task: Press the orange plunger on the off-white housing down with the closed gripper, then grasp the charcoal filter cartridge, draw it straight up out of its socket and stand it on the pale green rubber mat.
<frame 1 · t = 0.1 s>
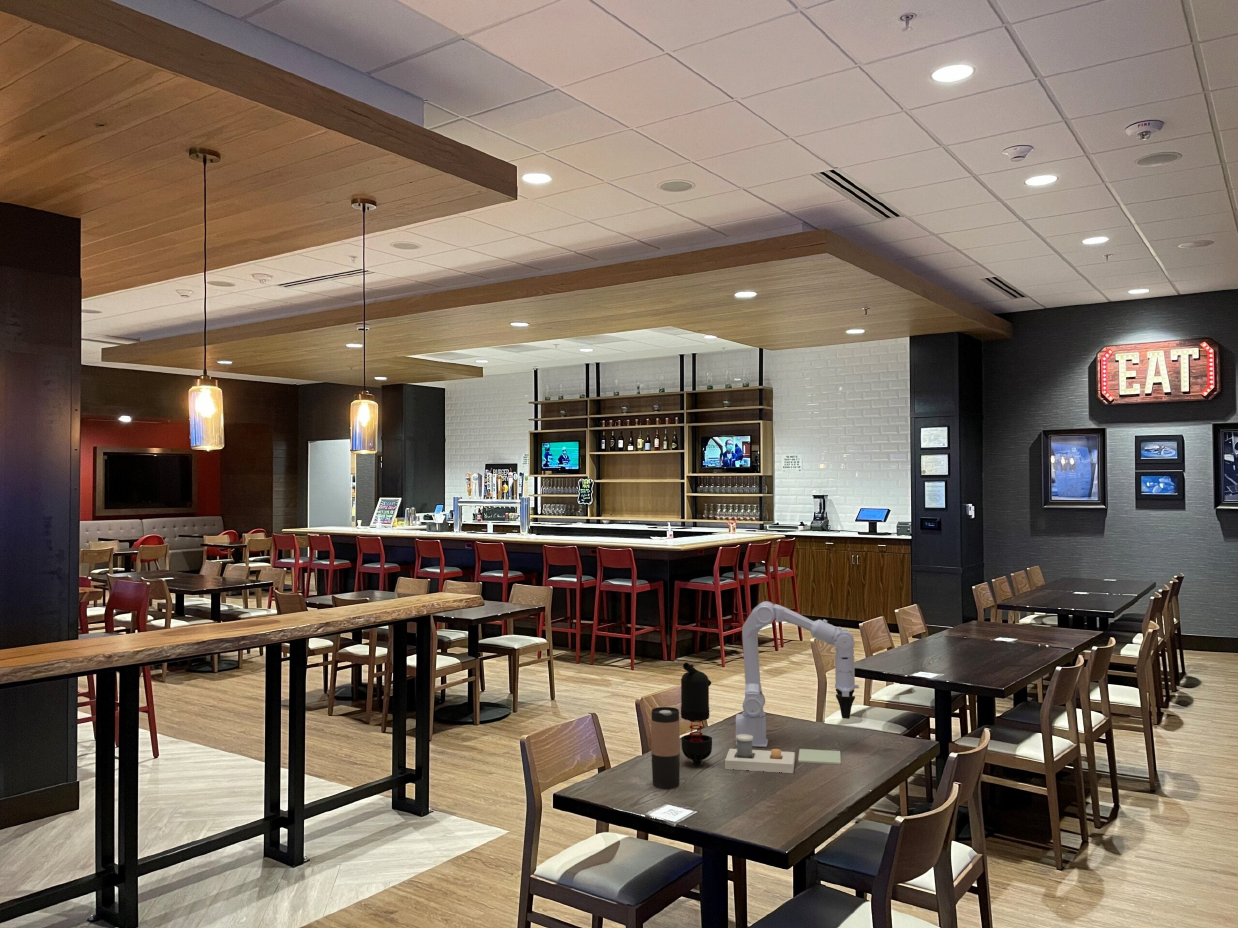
hand: (845, 715, 276), 10 cm above the table, tool pointing down, fingers open, 7 cm apart
cartridge: (744, 763, 261), resting in housing
plunger: (776, 754, 259), point 3 cm above the table, slide at 0.0 cm
travel mug: (666, 785, 243), on the table
mat: (819, 757, 267), on the table
housing: (760, 764, 260), on the table
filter: (699, 763, 262), on the table
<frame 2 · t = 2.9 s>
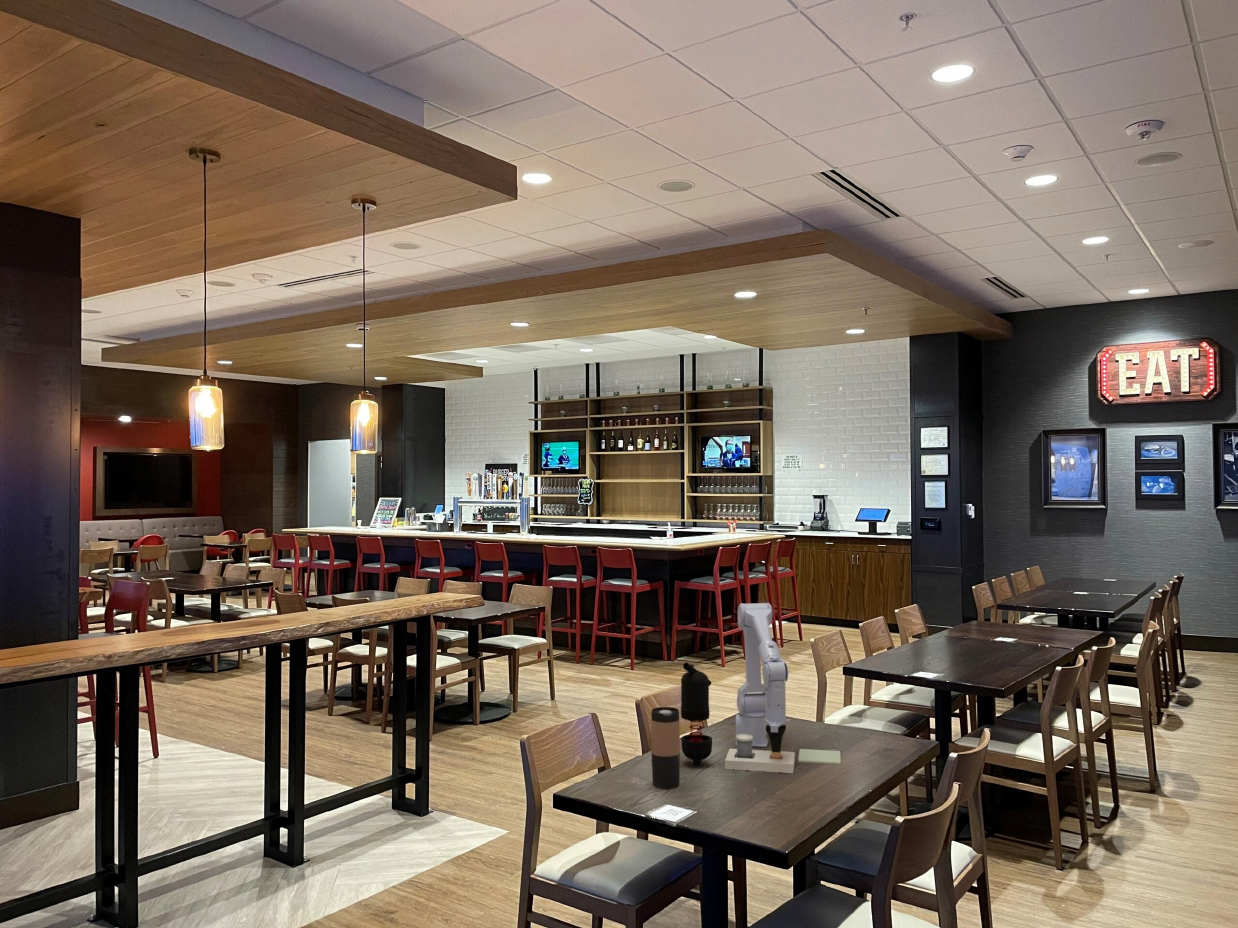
hand: (776, 751, 259), 4 cm above the table, tool pointing down, fingers closed, pressing on plunger
plunger: (776, 755, 259), point 3 cm above the table, slide at 0.4 cm, touching gripper
everything else where it was.
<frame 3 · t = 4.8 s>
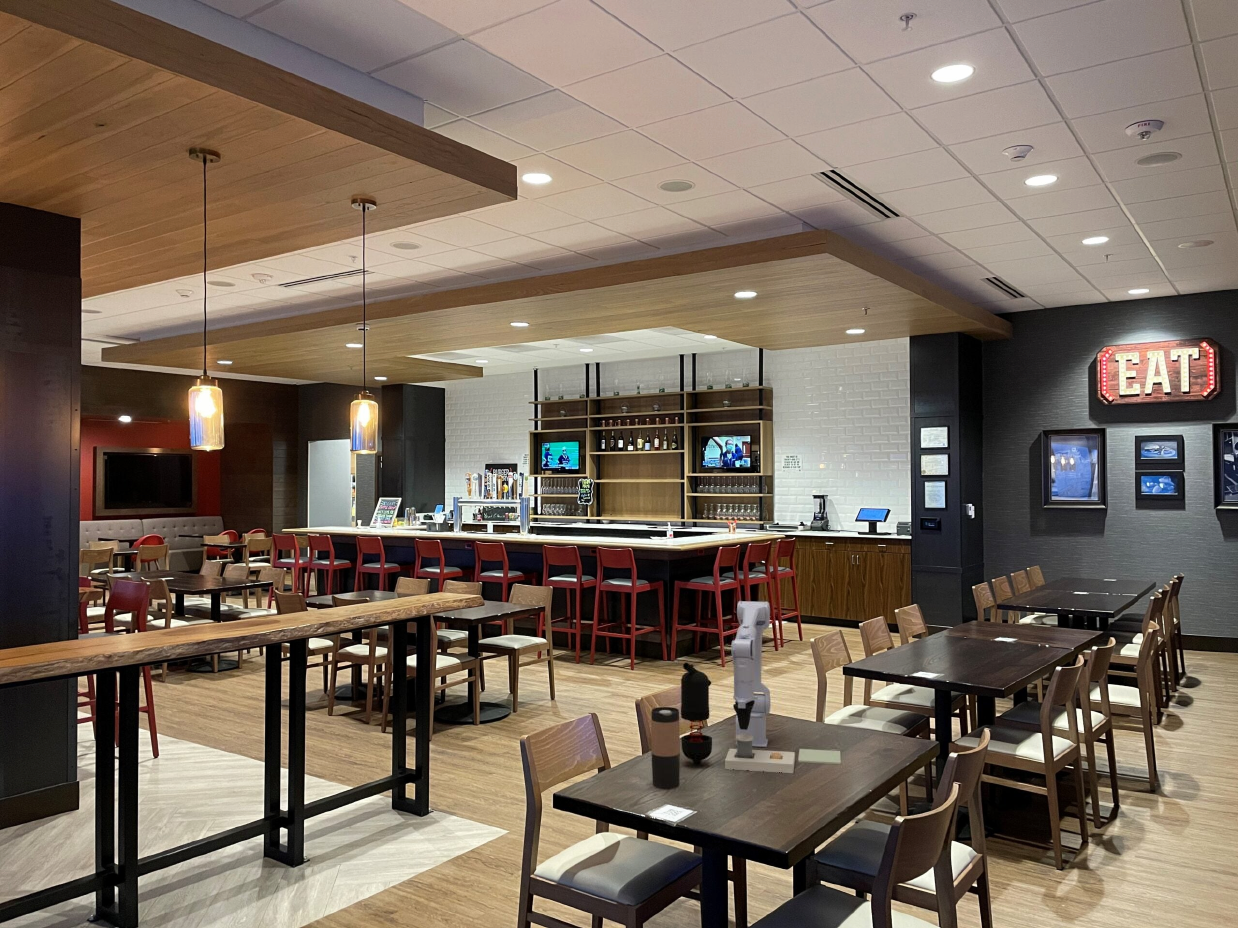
hand: (744, 727, 262), 10 cm above the table, tool pointing down, fingers open, 3 cm apart
plunger: (776, 758, 259), point 2 cm above the table, slide at 1.2 cm
everything else where it was.
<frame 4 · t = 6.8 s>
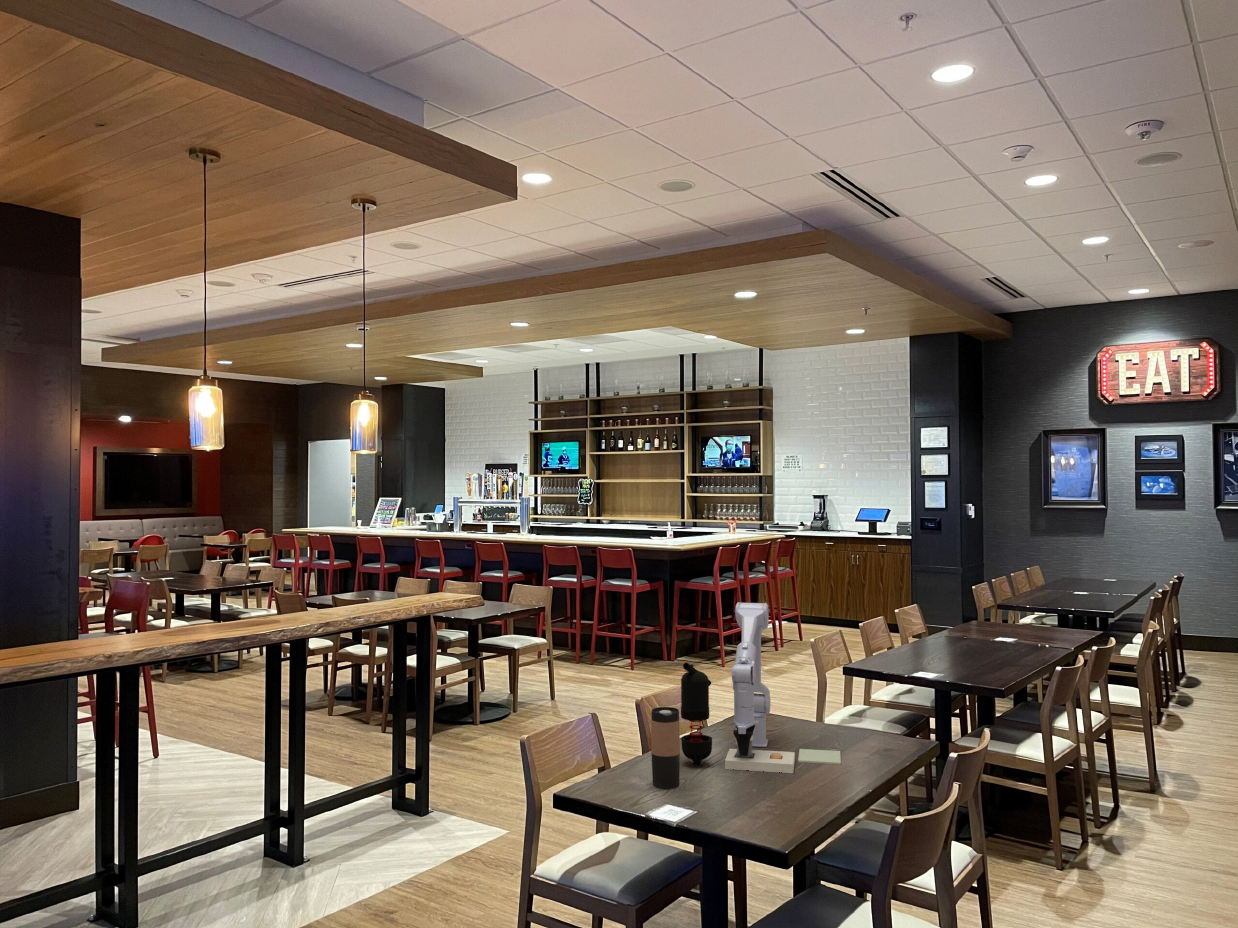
hand: (744, 752, 261), 3 cm above the table, tool pointing down, fingers closed on cartridge, 5 cm apart
cartridge: (744, 763, 261), resting in housing, touching gripper
everything else where it was.
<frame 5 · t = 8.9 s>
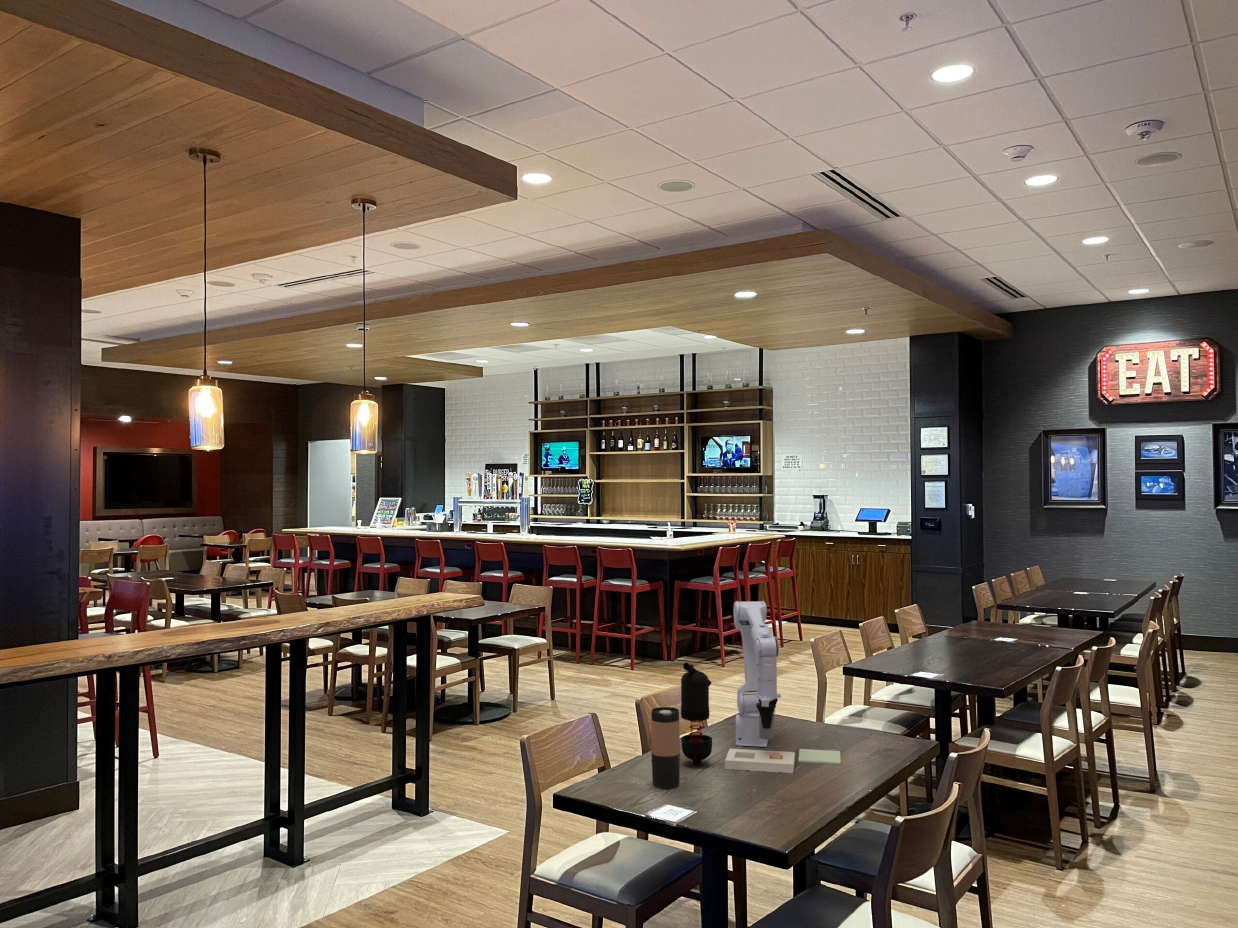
hand: (767, 725, 263), 10 cm above the table, tool pointing down, fingers closed on cartridge, 5 cm apart
cartridge: (766, 737, 263), point 7 cm above the table, touching gripper
everything else where it was.
when the fingers open (5 cm above the table, at t = 11.4 s): cartridge stays where it is, resting on mat.
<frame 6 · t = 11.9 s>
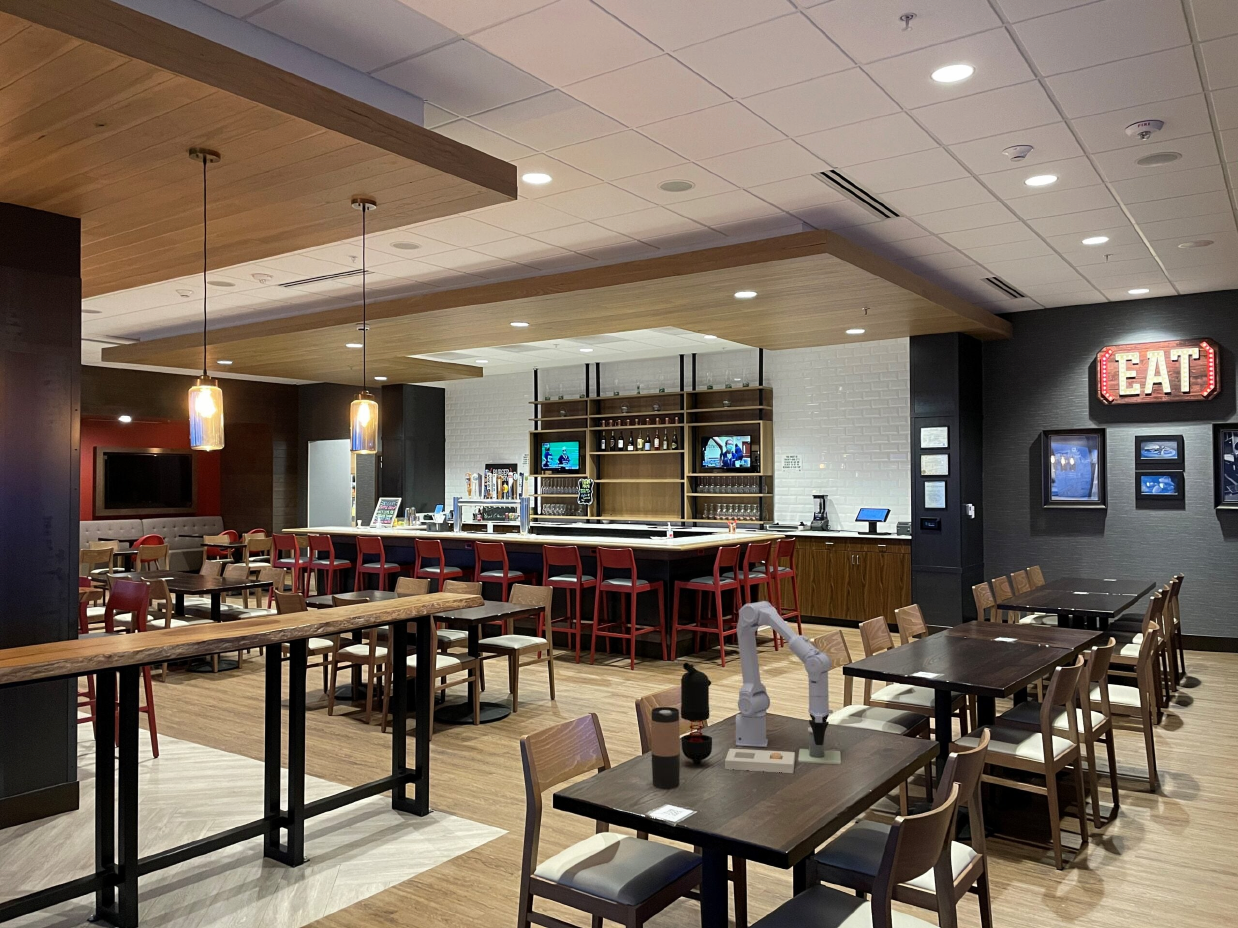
hand: (819, 741, 267), 5 cm above the table, tool pointing down, fingers open, 7 cm apart
cartridge: (816, 755, 267), resting on mat
everything else where it was.
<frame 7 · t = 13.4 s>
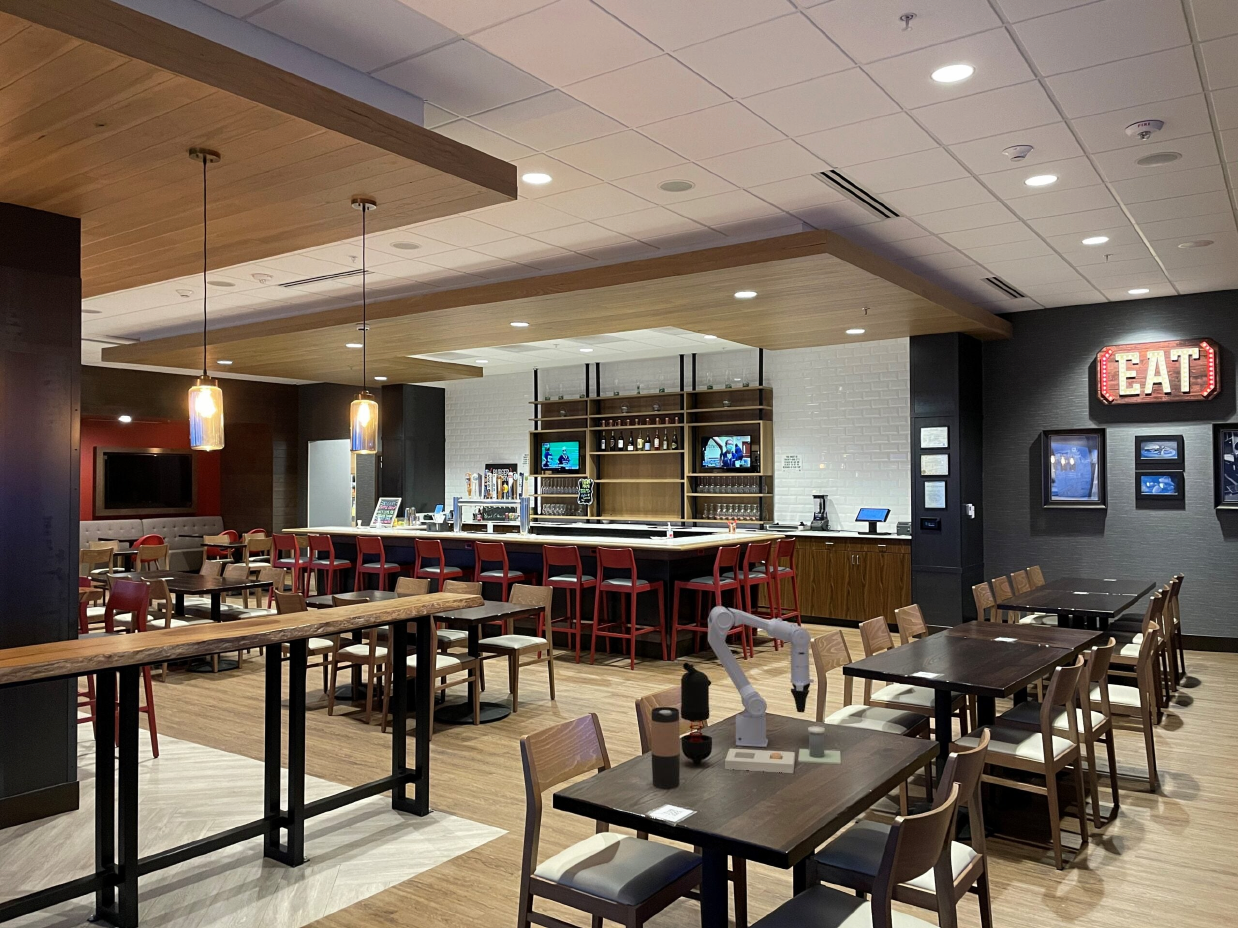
hand: (801, 708, 283), 10 cm above the table, tool pointing down, fingers open, 7 cm apart
nothing on the table moved.
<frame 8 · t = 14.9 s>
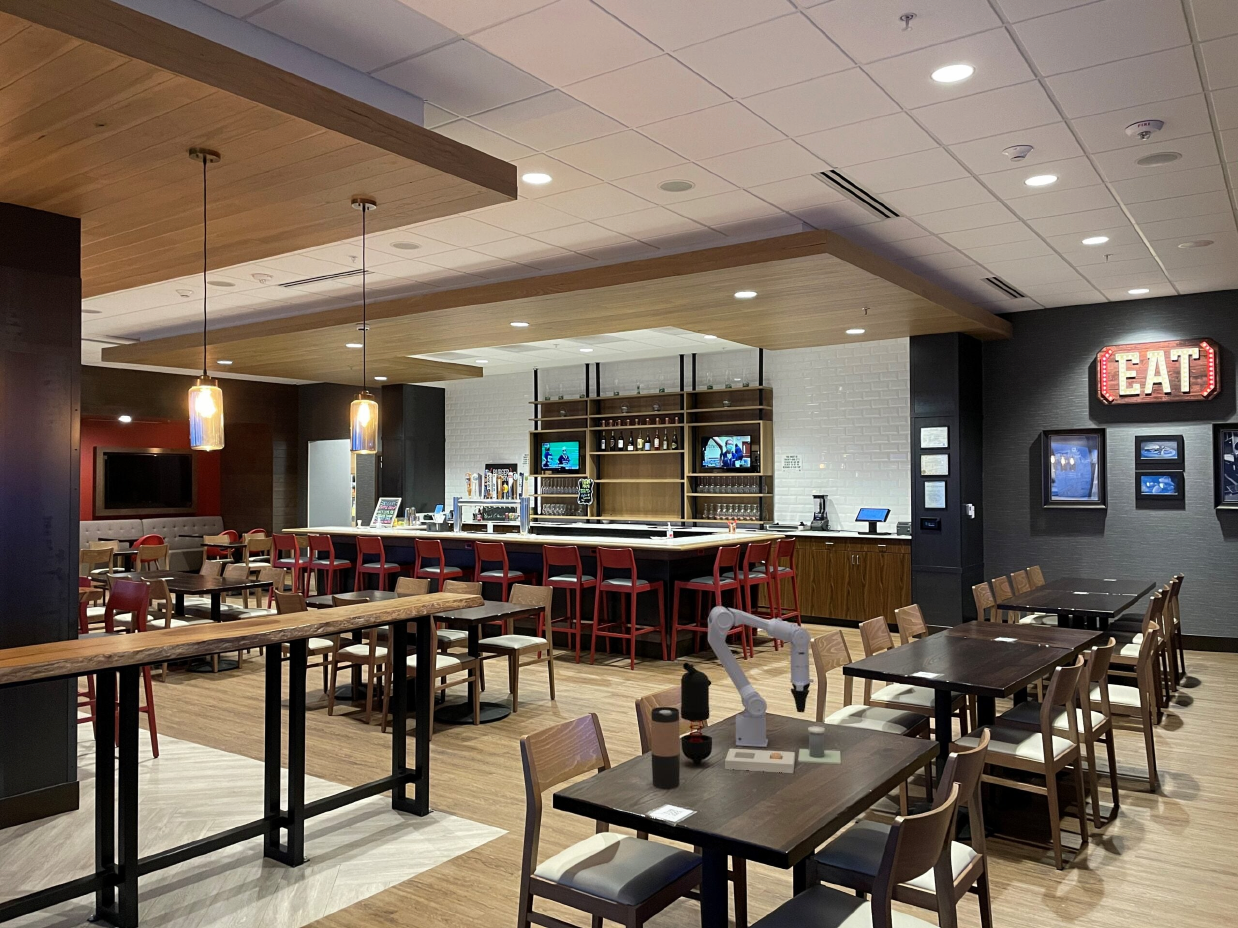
hand: (801, 708, 284), 10 cm above the table, tool pointing down, fingers open, 7 cm apart
nothing on the table moved.
at the end: plunger slide at 1.2 cm; cartridge inside the target area on the mat (0.8 cm from its centre), point 0.5 cm above the mat's base; cartridge tilted 0° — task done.
